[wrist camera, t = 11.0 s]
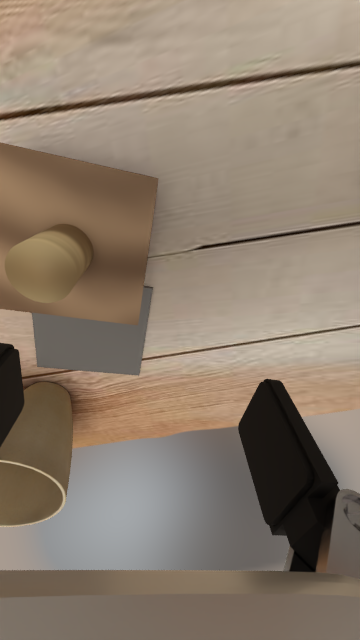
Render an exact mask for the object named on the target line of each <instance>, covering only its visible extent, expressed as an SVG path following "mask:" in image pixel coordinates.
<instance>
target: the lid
mask: <svg viewBox="0 0 360 640" xmlns="http://www.w3.org/2000/svg"><path fill="white" fill-rule="evenodd" d="M157 185H158V178H154V177H150V176H145V175H141V174H136V173H132V172H128V171H123V170H119V169H114V168H110V167H106V166H101V165H97V164H92V163H88V162H84V161H79V160H75V159H70V158H66V157H62V156H57V155H53V154H48V153H44V152H40V151H35V150H31V149H26V148H22V147H18V146H13V145H9V144H4V143H0V309H6V310H15V311H23V312H31V313H39V314H48V315H56V316H64V317H72V318H80V319H89V320H97V321H105V322H113V323H122V324H130V325H138V322H139V315H140V308H141V301H142V294H143V286H144V279H145V272H146V265H147V258H148V250H149V243H150V236H151V229H152V222H153V214H154V207H155V200H156V193H157Z"/></svg>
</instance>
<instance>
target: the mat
mask: <svg viewBox="0 0 360 640" xmlns="http://www.w3.org/2000/svg"><path fill="white" fill-rule="evenodd" d="M152 289H153V287H147V286H143V294H142V301H141V308H140V315H139V322H138V325H130V324H122V323H113V322H105V321H97V320H89V319H80V318H72V317H64V316H56V315H48V314H39V313H32V317H33V327H34V338H35V348H36V358H37V367H45V368H57V369H69V370H81V371H92V372H104V373H116V374H128V375H139V373H140V367H141V361H142V354H143V348H144V341H145V335H146V328H147V322H148V315H149V309H150V302H151V296H152Z"/></svg>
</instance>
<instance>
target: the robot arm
mask: <svg viewBox="0 0 360 640" xmlns="http://www.w3.org/2000/svg"><path fill="white" fill-rule="evenodd" d="M23 407H24V392H23V383H22V375H21V366H20V358H19V351H18V350H17V349H14V346H13V345H11V344H4V343H0V447H1V446H2V444H3V442H4V440H5V439H6V437H7V435H8V434H9V432H10V430H11V429H12V427H13V425H14V423H15V422H16V420H17V418H18V417H19V415H20V413H21V412H22V410H23ZM238 429H239V434H240V438H241V441H242V445H243V448H244V451H245V455H246V458H247V462H248V465H249V469H250V472H251V476H252V479H253V483H254V486H255V489H256V493H257V496H258V500H259V503H260V506H261V510H262V514H263V517H264V520H265V522H266V523H267V524H268V525H269V526H270V528H271V532H272V535H286V536H287V538H288V541H289V544H290V547H289V550H288V554H287V558H286V562H285V566H284V570H283V571H208V570H206V571H204V570H26V571H25V570H22V571H21V570H20V571H19V570H18V571H17V570H14V571H13V570H12V571H10V570H8V571H6V570H4V571H2V570H1V571H0V640H360V494H359V493H357V492H355V491H353V490H349V489H343V490H341V491H340V489H339V488H338V486H337V484H338V482H337V480H336V478H335V476H334V474H333V472H332V471H331V469H330V467H329V465H328V464H327V462H326V460H325V458H324V457H323V455H322V453H321V451H320V449H319V448H318V446H317V444H316V442H315V440H314V439H313V437H312V435H311V433H310V432H309V430H308V428H307V426H306V425H305V423H304V421H303V419H302V417H301V415H300V414H299V412H298V410H297V408H296V407H295V405H294V403H293V401H292V399H291V398H290V396H289V394H288V392H287V391H286V389H285V387H284V385H283V383H282V382H281V381H279V380H271V379H265V380H264V381H263V382H261V383H260V384H259V386H258V388H257V390H256V391H255V393H254V395H253V397H252V399H251V401H250V403H249V405H248V407H247V409H246V411H245V413H244V415H243V417H242V419H241V420H240V422H239V428H238Z"/></svg>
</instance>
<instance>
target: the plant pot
mask: <svg viewBox="0 0 360 640" xmlns="http://www.w3.org/2000/svg"><path fill="white" fill-rule="evenodd" d="M23 392H24V407H23V410H22V412H21V413H20V415H19V417H18V418H17V420H16V422H15V423H14V425H13V427H12V429H11V430H10V432H9V434H8V435H7V437H6V439H5V440H4V442H3V444H2V446H1V447H0V527H15V526H25V525H30V524H35V523H38V522H42V521H45V520H47V519H49V518H51V517H53V516H54V515H56V514H57V513H58V512H59V511H60V510H61V509H62V508H63V506H64V505H65V502H66V495H67V488H68V482H69V474H70V467H71V466H70V465H71V457H72V441H73V419H72V407H71V399H70V395H69V393H68V392H67V390H65V389H64V388H63V387H62V386H60V385H58V384H55V383H51V382H38V383H35V384H33V385H31V386H29V387H28V388H26V389H25V390H23Z"/></svg>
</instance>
